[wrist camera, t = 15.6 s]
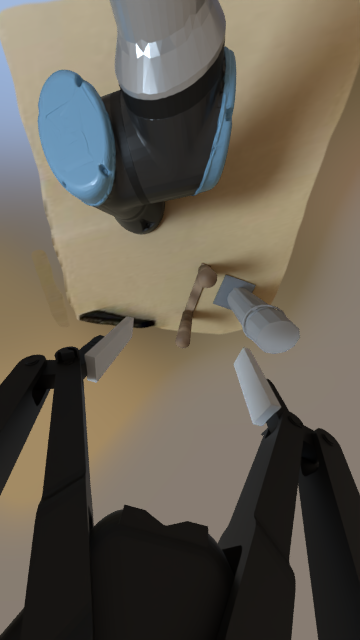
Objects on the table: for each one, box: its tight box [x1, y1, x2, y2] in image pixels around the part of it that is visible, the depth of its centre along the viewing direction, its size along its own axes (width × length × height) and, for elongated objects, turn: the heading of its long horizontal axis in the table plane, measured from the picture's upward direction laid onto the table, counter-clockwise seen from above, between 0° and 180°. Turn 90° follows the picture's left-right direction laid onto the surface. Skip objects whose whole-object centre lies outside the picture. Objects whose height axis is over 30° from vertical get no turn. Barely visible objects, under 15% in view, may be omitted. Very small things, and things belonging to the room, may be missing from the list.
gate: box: [176, 263, 217, 348], centre depth 39 cm, size 20×4×19 cm, turn 162°
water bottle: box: [227, 287, 300, 354], centre depth 34 cm, size 9×8×25 cm
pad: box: [213, 275, 256, 310], centre depth 45 cm, size 10×10×1 cm
